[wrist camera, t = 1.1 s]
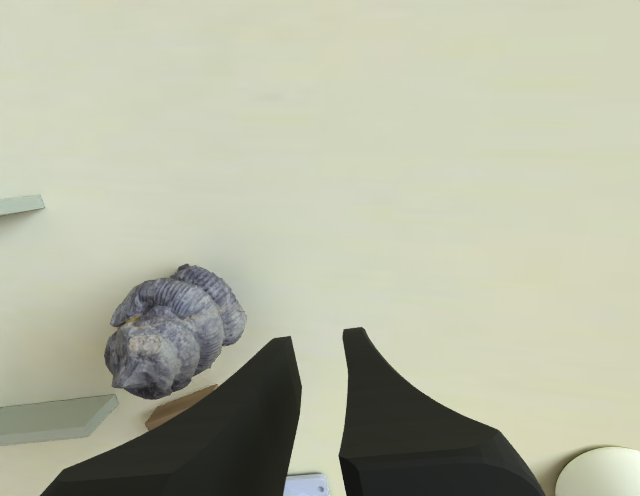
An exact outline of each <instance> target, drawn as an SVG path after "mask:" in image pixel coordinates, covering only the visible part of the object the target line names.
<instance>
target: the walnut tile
mask: <svg viewBox="0 0 640 496" xmlns="http://www.w3.org/2000/svg"><path fill="white" fill-rule="evenodd" d="M216 388H218V385H217V384H216V385H213V386H211V387H208V388H205V389H203V390H200V391H198V392H195V393H193V394H190V395H187V396H185V397H182V398H180V399H177V400H175V401H172V402H169V403H167V404H164V405H162V406H159V407H157V409H156V410H155V411H154V413H153V414H152V415H151V417H150V418H149V419H148V421H147V422H146V423H145V425H146V427H147V428H148V430H149V431H151V430H152V429H154V428H156V427H158V426H160V425H162V424H163V423H165V422H167V421H168V420H170V419H172V418H173V417H175V416H177V415H178V414H180V413H182V412H183V411H185V410H187V409H188V408H190V407H191V406H193V405H194V404H196V403H197V402H199V401H200V400H201V399H203V398H204V397H206V396H207V395H208V394H210V393H211V392H213V391H214V390H215V389H216Z"/></svg>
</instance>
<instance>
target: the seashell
mask: <svg viewBox="0 0 640 496" xmlns="http://www.w3.org/2000/svg"><path fill="white" fill-rule="evenodd" d="M246 320H247V319H246V315H244V311H243V309H242V308H241V306H240V305H239V304H238V301H237V300H236V298H235V295H234V294H233V293H232V291H231V288H230V287H229V286H228V285H227V284H226V283H225V282H224V280H223V279H222V278H218V277H217V276H216V275H215V274H214V273H210V272H209V271H208V270H206V269H203V268H201V267H197V266H196V265H194V266H190V265H189V264H185V265H182V266H180V267H179V268H178V270H177V273H175V274H174V275H172V276H171V277H170V278H161V279H157V280H149V281H145V282H144V283H142V284H140V285H138V286H136V287H134V288H133V289H132V290H131V292H130V293H129V294H128V296H127V297H126V298H125V299H124V301H123V302H122V304H120V305H119V306H118V308H117V309H116V311H115V312H114V314H113V316H112V319H111V322H110V324H111V325H112V326H113V327H119V328H118V329H117V331H116V332H115V333H114V334H113V335H112V336H111V337H109V339H108V341H107V345H106V349H105V354H104V357H105V363H106V366H107V367H108V369H109V371H110V372H111V373H112V375H113V381H112V387H114V388H124V389H125V390H127V391H128V392H130V393H131V394H133V395H136V396H139V397H141V398H144V399H151V400H153V399H159V398H162V397H165V396H168V395H170V394H171V393H172V392H175V391H178V390H181V389H183V388H185V387H186V386H187V385H188V384H189V383H190V382H191V378H192V376H195V375H197V374H199V373H201V372H202V371H204V370H206V369H207V368H211V364H212V363H213V362H214V361H215V359H216V358H217V357H218V355H219V354H220V352H221V347H222V346H228V345H231V344H234V343H235V342H236V341H238V339H239V338H240V337H241V335H242V333H243V331H244V327H245V323H246Z"/></svg>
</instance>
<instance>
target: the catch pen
mask: <svg viewBox="0 0 640 496" xmlns="http://www.w3.org/2000/svg"><path fill="white" fill-rule="evenodd" d="M41 208H45V207H44V204H43V202H42V199H41V196H40V195H35V196H26V197H17V198H8V199H0V216H3V215H8V214H14V213H19V212H25V211H30V210H35V209H41ZM117 405H118V402H117V399H116V396H115V395H107V396H98V397H89V398H80V399H72V400H63V401H54V402H45V403H37V404H28V405H19V406H11V407H2V408H0V446H4V445H14V444H24V443H34V442H44V441H54V440H64V439H74V438H84V437H88V436H89V435H90V434H91V433H92V432H93V431H94V430H95V429H96V428H97V427H98V425H99V424H100V423H101V422H102V421H103V420H104V419H105V418H106V417H107V416H108V415H109V414H110V412H111V411H112V410H113V409H114V408H115V407H116V406H117Z"/></svg>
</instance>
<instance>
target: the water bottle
mask: <svg viewBox="0 0 640 496" xmlns="http://www.w3.org/2000/svg"><path fill="white" fill-rule="evenodd" d="M555 496H640V452H639V451H637V450H633V449H629V448H623V447H604V448H598V449H594V450H591V451H588V452H585V453H583V454H581V455H579V456H578V457H576V458H575V459H573V460H572V461H571V462H570V463H568V464H567V465H566V467H565V468H564V469H563V470H562V472H561V474H560V475H559V478H558V480H557V483H556V488H555Z"/></svg>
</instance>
